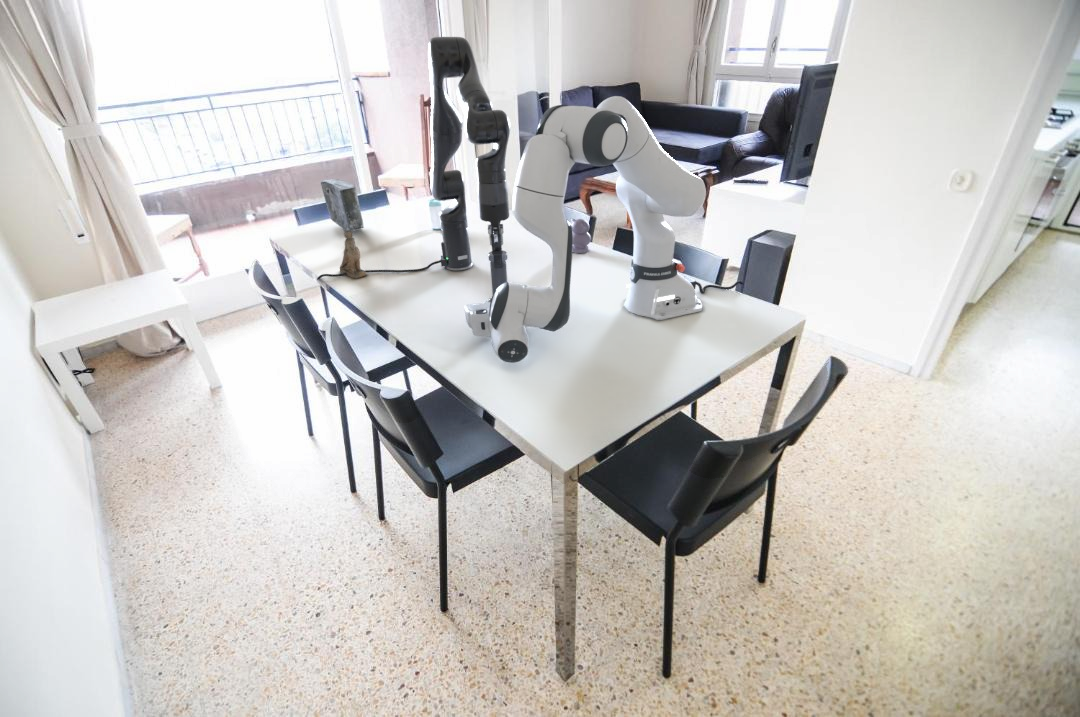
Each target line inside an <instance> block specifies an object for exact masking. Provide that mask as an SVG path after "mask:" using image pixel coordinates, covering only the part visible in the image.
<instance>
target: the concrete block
mask: <svg viewBox="0 0 1080 717" xmlns="http://www.w3.org/2000/svg"><path fill="white" fill-rule="evenodd" d="M320 186H321V189H322V193H323V197H324V202H325V204H326V208H327V212H328V215H329V217H330V220H332V222H334V223H335V224H336V225H338V226H339V227H341V228H342V229H343V230H345V232H346V231H348V230H350V231H352V232H355V231H358V230H361V229H364V228H365V226H364V220H363V216H362V212H361V207H360V206H361V205H360V201H359V197H358V192H357V188H356V186H355V185H354V184H353V183H351V182H348V181H347V180H344V179H339V178H330V179H324V180H322V181H320Z"/></svg>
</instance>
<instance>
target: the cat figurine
mask: <svg viewBox="0 0 1080 717" xmlns="http://www.w3.org/2000/svg"><path fill="white" fill-rule="evenodd" d="M570 221H571V226H572V232H573V249H572V253H575V254H585V253H587V252H588V251H589V246H588V245H590V243H591V241H592V236H591V234H590V233H589V231H590V224H589V222H588V221H587V219H584V218H577V219H575V218H570Z"/></svg>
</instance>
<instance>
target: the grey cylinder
mask: <svg viewBox="0 0 1080 717" xmlns="http://www.w3.org/2000/svg"><path fill="white" fill-rule="evenodd" d="M502 263H503V267H502V268H497V269H496V268H495V267H494V262H491V261H489V266H490V280H491V293H492V295H493V293H494V291H495V290H496V289H497V288H498V287H499V286H501V285H502V284H503V283H505V282H508V274H507V273H508V272H507V270H508V269H507V260H506V261H503V262H502ZM492 295H491V296H492Z"/></svg>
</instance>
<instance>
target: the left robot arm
mask: <svg viewBox="0 0 1080 717" xmlns="http://www.w3.org/2000/svg"><path fill="white" fill-rule="evenodd" d="M427 47H428V50H427V56H428V57H427V58H428V70H429V82H430V83H429V85H430V104H431V105H430V140H431V165H430V181H429V182H430V184H429V185H430V192H431V195H432V197H433V199H435V200H437V201H442V202H445V201H452V202H451V203H450V205H448V206H446V207H444V209H443V210H442V211H441V212H440V223H441V229H440V230H441V235H442V242H441V243H440V246H441V250H442V251H441V253H442V255H440V260H435V261H433V262H431V263H429V264H428V265H427V266H424V267H421V268H415V269H413V268H412V269H367V270H366V269H365V270H364V271H365V273H366V274H368V273H414V272H415V273H417V272H422V271H425V270H429V268H431V267H432V266H433V265H437V264H440V267H444V269H445V270H449V271H454V272H459V271H467V270H469V269H471V268H472V266H473V260H472V250H471V242H470V234H469V224H468V216H467V203H466V202H467V201H466V187H465V179H464V176H463V173H462V172H461V170H459V169H450V170H446V168H447V166H448V164H449V163H450V161H451V159H452V158H453V157H454V156H455V155H456V153H457V151H458V150H459V149H460V147H461V144H462V141H463V127H464V133H465V137H466V139H467V141H468V142H470V143H471V144H472V145H475V146H480V145H481V146H483V145H492V144H493V146H492V148H491V150H490V151H488V152H486V153H484V154H481V155H478V156H477V157H476V159H475V170H476V181H477V188H476V189H477V190H476V191H477V201H478V203H477V204H478V212H479V219H480V220H481V221H483V222H489V224H487V234H488V237H489V246H491V251H492V254H493V257H494V267H495V268H496V269H497V268H502V267H503V263H502V253H503V251H504V250H503V248H502V246H503V245H504V224H503V223H501V222H502V221H503V222H504V221H506V220H508V219H509V218H510V204H509V191H508V190H509V188H508V185H507V175H506V156H507V148H508V143H509V139H510V134H511V122H510V118H509V116H508V115H507V113H506V112H505V111H504V110H502V109H493V104H492V101H491V99H490V97H489V96H488V94H487V91H486V89H485V88H484V86H483V83H482V80H481V76H480V73H479V69H478V65H477V62H476V59H475V54H474V52H473V48H472V47H471V45H470V42H469V41H468V39H466V38H465V37H463V36H434V37H431V38H430V40H429V43H428V46H427ZM454 78H455V79H457V78H460V81H459V82H458V85H457V88H456V97H457V101H458V103H459V106H460V108H461V110H462V112H463V114H464V122H463V117H462V115H461V113H460V111H459V109H458V108H457V106H456V105H455V104H454V102H453V101H452V99H451V98H450V96H449V94H448V92H447V91H446V88H445V86H444V79H454ZM463 124H464V126H463ZM502 250H503V251H502ZM343 276H344V277H345V276H347V273H336V274H333V273H323V274H320V275H319V276H317V278H316V280H321V279H322V278H323V277H329V278H330V277H332V278H335V277H336V278H337V277H338V278H339V277H343Z"/></svg>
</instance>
